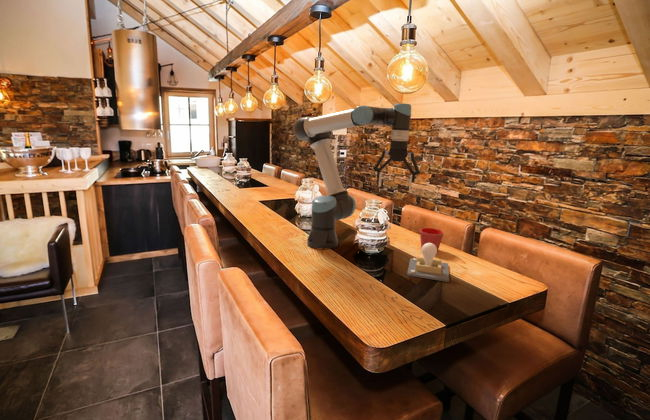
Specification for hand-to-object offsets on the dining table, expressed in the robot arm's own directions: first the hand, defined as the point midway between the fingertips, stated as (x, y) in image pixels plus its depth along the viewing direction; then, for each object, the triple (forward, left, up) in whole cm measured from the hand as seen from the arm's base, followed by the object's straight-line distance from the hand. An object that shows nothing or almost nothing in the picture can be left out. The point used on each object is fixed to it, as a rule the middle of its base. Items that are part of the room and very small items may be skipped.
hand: (394, 187), depth 161 cm
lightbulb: (+18, -15, -30) cm, 38 cm away
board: (+18, -15, -31) cm, 39 cm away
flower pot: (+18, +12, -31) cm, 38 cm away
